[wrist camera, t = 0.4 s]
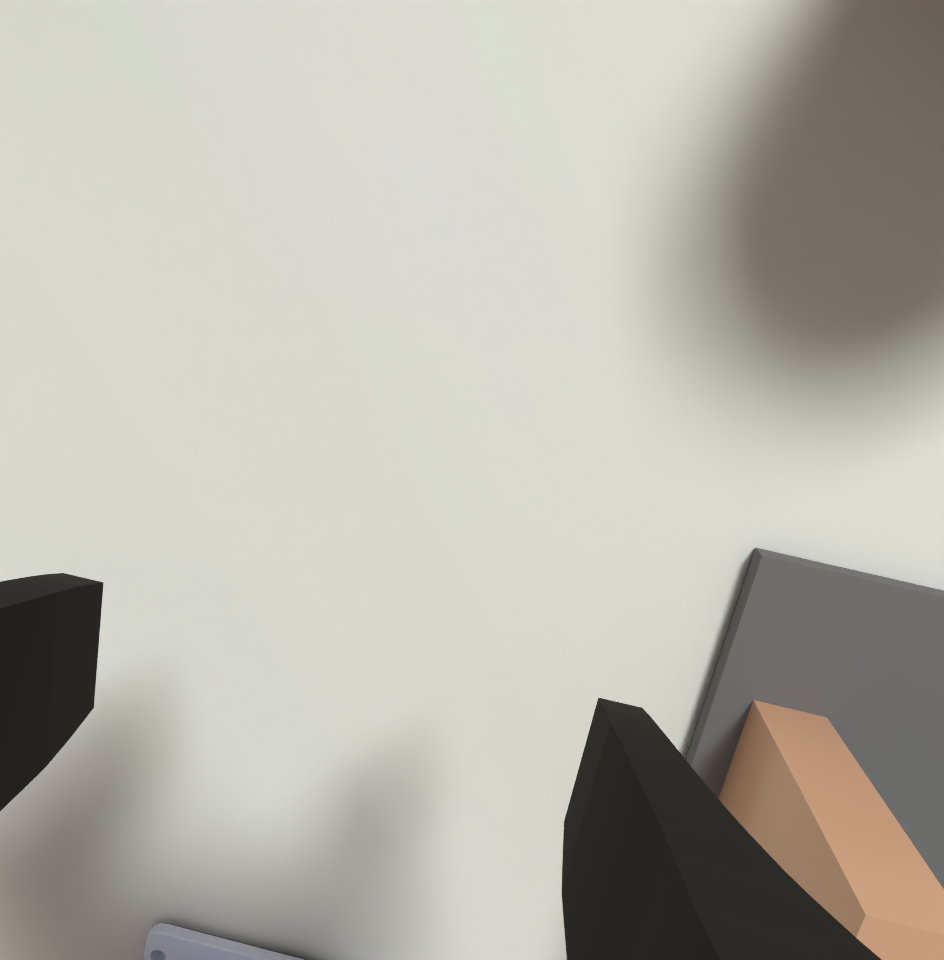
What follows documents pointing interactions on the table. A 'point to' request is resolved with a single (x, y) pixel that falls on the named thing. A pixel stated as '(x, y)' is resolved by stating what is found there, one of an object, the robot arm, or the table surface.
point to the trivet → (839, 680)
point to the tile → (833, 832)
